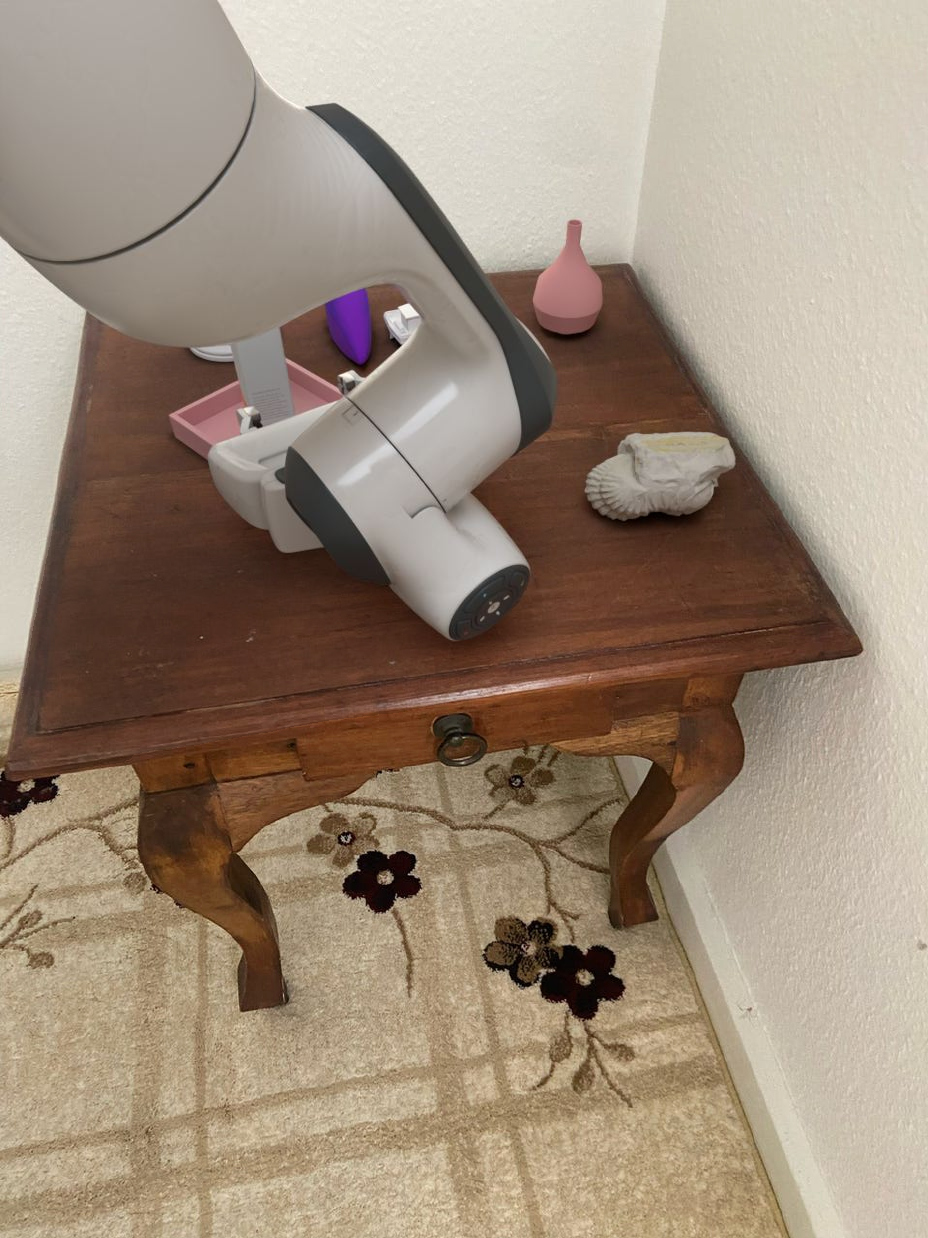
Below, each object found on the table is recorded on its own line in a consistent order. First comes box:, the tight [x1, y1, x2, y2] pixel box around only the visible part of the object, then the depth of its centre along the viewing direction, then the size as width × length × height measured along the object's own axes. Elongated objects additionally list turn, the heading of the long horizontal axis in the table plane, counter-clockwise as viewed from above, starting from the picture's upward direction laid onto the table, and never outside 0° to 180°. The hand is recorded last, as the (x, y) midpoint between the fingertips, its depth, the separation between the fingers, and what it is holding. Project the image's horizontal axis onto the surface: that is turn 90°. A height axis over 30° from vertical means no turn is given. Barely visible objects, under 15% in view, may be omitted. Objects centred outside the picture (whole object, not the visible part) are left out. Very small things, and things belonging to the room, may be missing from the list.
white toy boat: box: [383, 302, 421, 346], centre depth 97 cm, size 6×12×3 cm, turn 112°
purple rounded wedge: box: [324, 288, 373, 366], centre depth 96 cm, size 5×5×15 cm
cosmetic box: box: [230, 327, 295, 427], centre depth 81 cm, size 6×4×12 cm
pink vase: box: [532, 219, 604, 335], centre depth 94 cm, size 8×8×12 cm
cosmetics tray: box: [168, 357, 345, 461], centre depth 85 cm, size 14×12×3 cm
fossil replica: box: [584, 431, 736, 522], centre depth 75 cm, size 12×8×10 cm
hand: (296, 396), depth 74 cm, fingers open, 8 cm apart
